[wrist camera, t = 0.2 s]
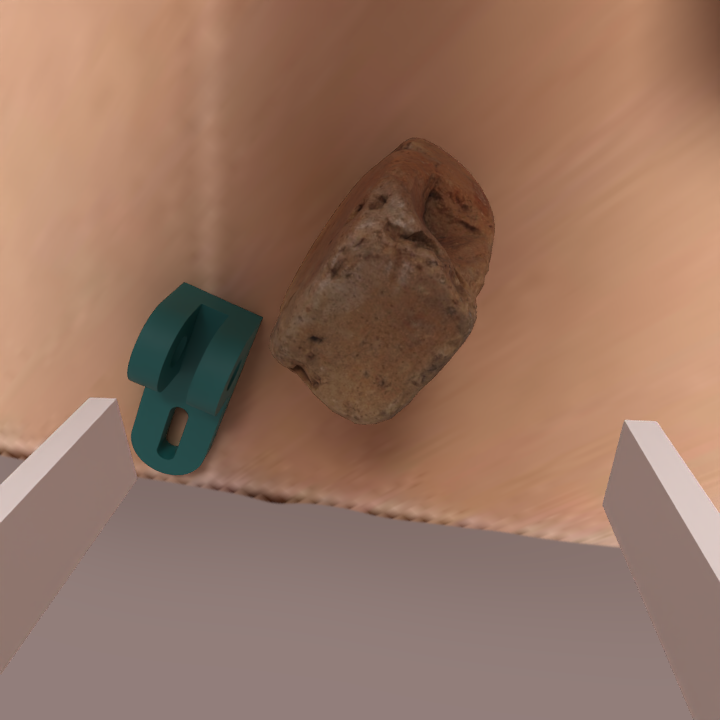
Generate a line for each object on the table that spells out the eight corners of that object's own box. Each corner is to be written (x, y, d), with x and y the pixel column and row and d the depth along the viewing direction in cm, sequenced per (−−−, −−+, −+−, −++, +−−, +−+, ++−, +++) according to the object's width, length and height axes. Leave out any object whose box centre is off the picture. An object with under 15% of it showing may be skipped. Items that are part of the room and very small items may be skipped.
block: (391, 297, 42) (370, 459, 24) (313, 236, 40) (231, 362, 23) (491, 185, 37) (554, 283, 20) (408, 111, 36) (396, 147, 18)
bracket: (185, 281, 43) (140, 320, 36) (263, 316, 44) (234, 361, 37) (135, 442, 52) (91, 499, 45) (202, 469, 52) (168, 530, 45)
